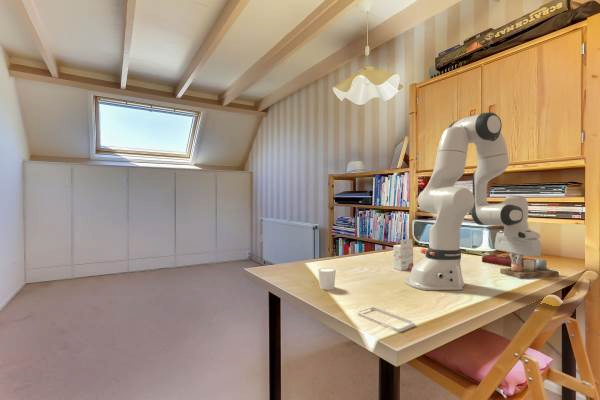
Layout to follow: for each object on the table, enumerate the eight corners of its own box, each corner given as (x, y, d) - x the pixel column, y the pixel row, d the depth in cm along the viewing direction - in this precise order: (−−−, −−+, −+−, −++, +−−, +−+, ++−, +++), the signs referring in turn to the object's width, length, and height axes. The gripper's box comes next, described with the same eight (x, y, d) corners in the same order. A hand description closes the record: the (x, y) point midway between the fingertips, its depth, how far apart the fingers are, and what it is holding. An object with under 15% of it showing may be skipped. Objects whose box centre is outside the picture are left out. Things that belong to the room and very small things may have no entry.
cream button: (529, 271, 132) (529, 261, 132) (521, 269, 136) (521, 259, 136) (536, 271, 133) (536, 261, 133) (528, 269, 137) (528, 259, 137)
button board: (519, 278, 128) (519, 273, 128) (500, 272, 138) (500, 268, 138) (558, 276, 131) (558, 271, 131) (537, 270, 141) (537, 266, 141)
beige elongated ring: (415, 327, 82) (372, 310, 94) (415, 322, 82) (372, 306, 94) (398, 334, 78) (356, 316, 90) (398, 329, 78) (356, 311, 90)
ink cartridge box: (405, 266, 152) (405, 237, 152) (413, 268, 148) (413, 238, 148) (393, 268, 148) (393, 238, 148) (400, 270, 144) (400, 240, 144)
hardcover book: (526, 271, 143) (526, 262, 143) (481, 263, 161) (481, 255, 161) (538, 268, 149) (538, 259, 149) (494, 260, 167) (494, 253, 167)
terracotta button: (516, 275, 131) (516, 265, 131) (509, 273, 135) (508, 263, 135) (523, 274, 132) (523, 264, 132) (516, 272, 136) (516, 262, 136)
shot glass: (321, 291, 113) (321, 272, 113) (315, 286, 120) (315, 268, 120) (338, 289, 115) (338, 271, 115) (332, 284, 122) (331, 267, 122)
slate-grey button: (541, 270, 134) (541, 260, 134) (533, 269, 137) (533, 259, 137) (548, 270, 134) (548, 260, 134) (540, 268, 138) (540, 258, 138)
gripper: (491, 230, 143) (491, 259, 143) (531, 235, 123) (531, 269, 123) (502, 229, 144) (502, 258, 144) (544, 234, 124) (544, 268, 124)
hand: (516, 263), depth 133 cm, fingers closed
